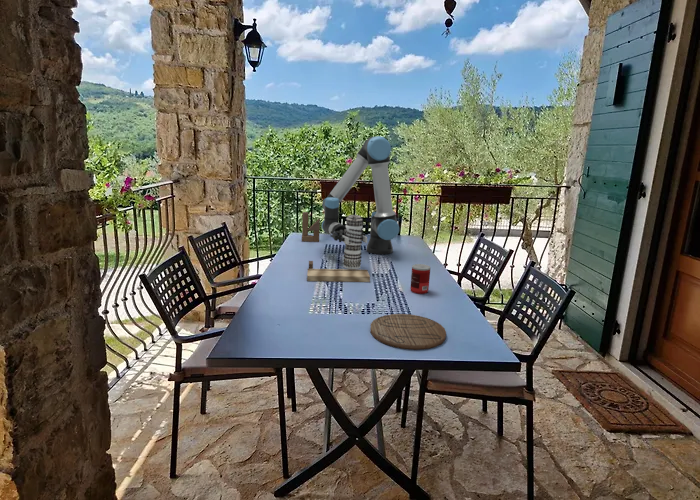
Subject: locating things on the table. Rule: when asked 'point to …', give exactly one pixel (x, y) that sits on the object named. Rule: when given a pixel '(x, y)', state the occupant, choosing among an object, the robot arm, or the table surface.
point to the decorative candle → (353, 242)
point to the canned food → (420, 278)
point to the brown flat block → (310, 264)
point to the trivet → (408, 331)
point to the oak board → (338, 275)
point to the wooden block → (305, 229)
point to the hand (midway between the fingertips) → (357, 240)
